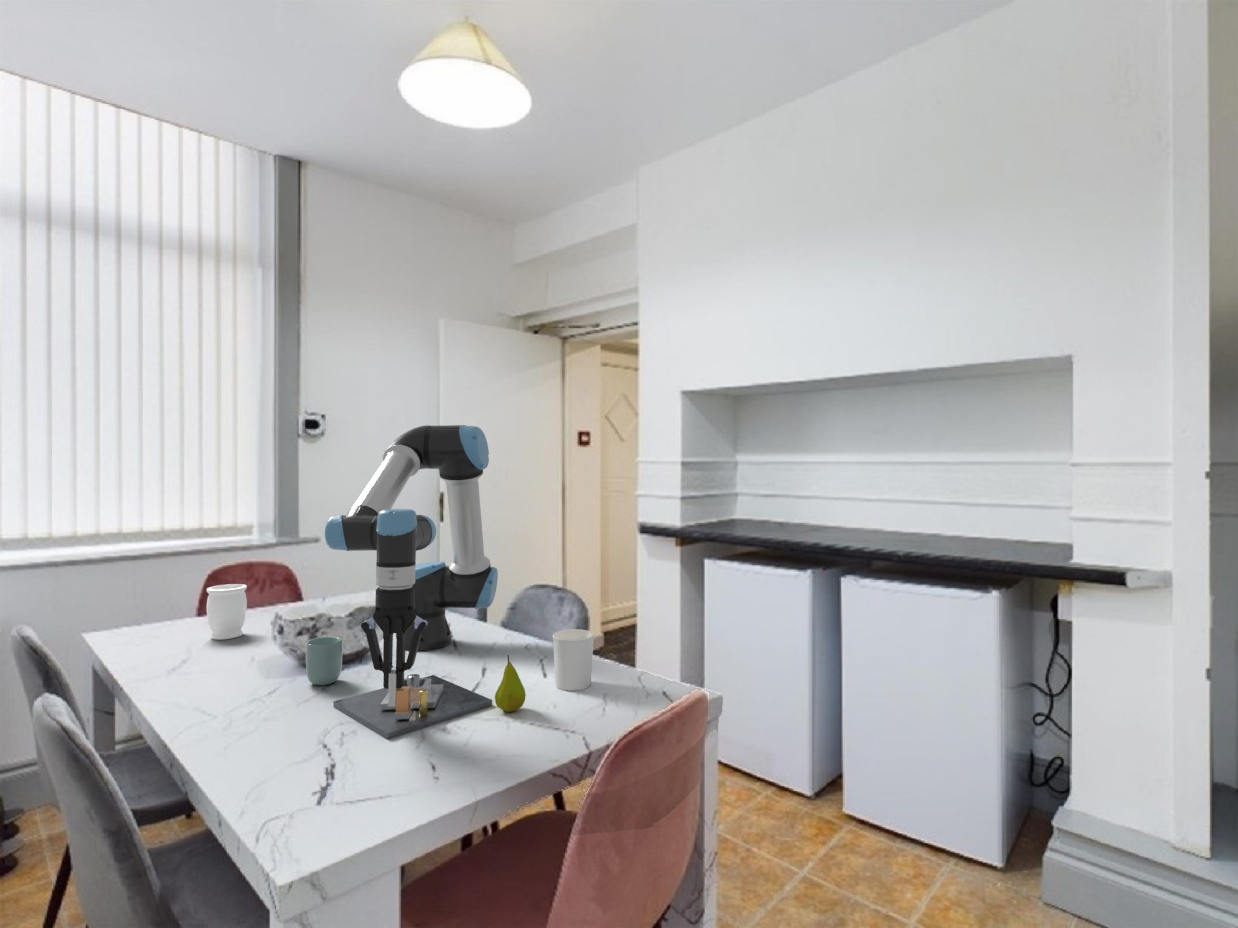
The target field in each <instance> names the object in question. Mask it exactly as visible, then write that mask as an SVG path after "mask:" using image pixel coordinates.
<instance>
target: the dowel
mask: <svg viewBox="0 0 1238 928" xmlns="http://www.w3.org/2000/svg"><path fill="white" fill-rule="evenodd" d="M426 716H427V690H420V691H419V717H426Z"/></svg>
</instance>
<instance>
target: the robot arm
mask: <svg viewBox="0 0 1238 928" xmlns="http://www.w3.org/2000/svg"><path fill="white" fill-rule="evenodd" d="M489 452H490V451H489V445H488V440H487V437H486V436H485V432H484V431H483V430H482V429H481V428H480V427H479V426H475V425H465V424H461V425H459V424H458V425H457V424H456V425H427V424H426V425H421V426H418V427H414V428H412V429H410V430H408V431H405V432H404V433H403V434H401V435H399V437H396V439H394V440H393V441H392V442H391V443H390V444H389V446H388V447H386V450H384V453H383V455H382V462H381V464H380V466H378V468H377V470H376V472H375V473H374V474H373V476H372V477H371V479H370V480H369V482H368V483H367V484H366V486H364V487H365V488H364V489H363V491H362V492H361V493H360V495H359V496H358V498H357V499H356V501H355V502H354V504H353V505H352V507H351V508H350V509H349V511H347V514H345V515H344V514H340V515H333V516H331V517H330V518H329V519H328V520H327V522H326V524H325V526H324V527H325V528H324V540H325V543H326V545H327V546H328V548H330V549H331V550H337V551H347V552H350V551H351V552H352V551H355V552H356V551H358V552H359V551H364V552H365V551H376V563H375V564H376V565H375V568H376V570H375V585H376V586H378V587H377V588H376V589H375V609H374V611H373V613H372V616H371V618H369V619H366V620H364V621H363V622H362V623H360V628H361V629H362V630H363V632H364V633H365V636H366V640H367V645H368V648H369V652H370V657H371V661H372V665H373V668H374V670H375V671H381V672H382V673H383V688H384V689H388V707H395V706H396V690H397V688H402V687H403V685H404V679H405V671H407V670H408V671H409V670H411V669H412V667H414V664H415V661H416V659H417V658H416V657H417V654H418V651H430V650H436V649H441V648H443V647H447V646H448V645H450V644H451V643H452V632H451V629H450V626H449V623H448V620H447V618H446V609H475V610H477V609H486V608H490V607H491V605H492V604H493V602H494V600H495V597H496V592H497V586H498V579H499V578H498V577H499V576H498V575H499V572H498V571H499V570H498V568H497V567H494V566H491V560H490V559H489V557H487V556H486V555H485V548H484V547H485V546H484V538H483V537H484V535H483V534H484V533H483V525H482V524H483V523H482V512H481V511H482V508H481V498H480V486H479V479H480V478H481V476H483V475H484V470H485V469H487V467H488V466H489V463H490V462H489V461H490V457H489V454H490V453H489ZM424 469H425V470H426V469H429V470H432V469H434V470H438V473H439V478H440V479H442V481H444V482H445V485H446V494H447V504H448V505H447V506H448V515H449V522H450V523H449V525H450V536H451V546H452V547H451V548H452V554H453V555H452V557H453V559H452V560H451V562H449V564H448V566H447V564H446V562H445V561H430V562H424V563H419V564H417V563H416V560H417V559H416V558H417V557H416V556H417V551H422V550H424V549H426V548H427V547H428V546H430V545H431V544H432V543H433V542H434V540H435V539H436V537H437V526H436V524H435V522H434V521H433V520H432V518H430V517H428V516H427V515H423V514H417V513H416V511H415V510H413V509H409V508H393V506H394V504H395V503H396V501H397V499H398V498H399V496H400V495H401V493H402V491H403V489H404V487H405V486H406V484H407V482H408V481H409V479H410V477H413V476H415V475H416V474H417V473H418V472H419V471H420V470H424ZM376 625H377V626H378V628H379V629H380V630H381V632H382V639H383V645H382V646H383V647H382V648H383V652H381V648H380V644H379V639H378V635H377V631H376ZM394 634H395V639H396V649H395V650H396V651H395V653H396V654H395V669H393V668H394V665H393V655H394V654H393V653H394V651H393V649H394V648H393V647H394V644H393V643H394ZM406 651H408V655H407V659H406ZM382 653H383V655H382Z"/></svg>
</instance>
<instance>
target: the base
mask: <svg viewBox="0 0 1238 928" xmlns="http://www.w3.org/2000/svg"><path fill="white" fill-rule="evenodd" d="M406 678H407V686H411V687H416V686H420V678H421V677H420V674H417V673H412V674H408V675H407V676H406ZM423 678H431V685H435V684H443V692H442V694H441V696H440V698H439V700H438V702H437V704H436V706H435V708H427V716H426V717H419V708H416V709H414V710H413V712H412V713H411V715H410V717H409V719H395V713H396V709H388V710H380V704H381V702H382V701H383V699H384V698H385V697H386V695H387V694H388V689H384V687H383V688H380V689H375V690H372V691H368V692H364V693H360V694H356V695H352V696H348V697H344V698H340V699H337V700H334V701H333V708H334V709H336V710H338V711H340V712H341V713H343V714H345V715H346V716H348V717H350V718H351V719H352V720H355V721H357V722H358V723H360V724H361V725H363V726H364V727H366V728H368V729H369V730H370V731H373V732H374V733H376V734H378V735H380V736H381V737H383V738H384V739H386V740H390V739H394V738H398V737H400V736H403V735H406V734H409V733H413V732H415V731H418V730H422V729H424V728H427V727H431V726H433V725H436V724H440V723H443V722H446V721H449V720H453V719H455V718H459V717H461V716H465V715H467V714H470V713H474V712H477V711H480V710H482V709H486V708H489V707H492V706H493V699H491V698H488V697H486V696H483V695H481V694H479V693H478V692H474V691H473V690H470V689H468V688H465V687H462V686H461V685H458V684H455V683H453V682H451V681H448V680H446V679H443V678H441V677H439V676H437V675H435V674H432V675H427V676H424V677H423Z"/></svg>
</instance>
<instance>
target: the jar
mask: <svg viewBox="0 0 1238 928" xmlns="http://www.w3.org/2000/svg"><path fill="white" fill-rule="evenodd" d="M246 590H247V584H243V583H242V584H241V583H240V584H239V583H229V584H218V585H213V586H210V587H207V588H206V593H207V594H208V595H207V601H206V616H207V621H208V626H209V629H210V631H211V632H212V634H211V635H210V639H212V640H219V641H221V640H230V639H235V638H239V637H241V636H242V635H243V634H244V632H243V630H242V628H243V627H244V625H245V624H244V623H245V621H246V620H245V619H246V614H247V608H248V607H247V606H248V600H247V594H246Z"/></svg>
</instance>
